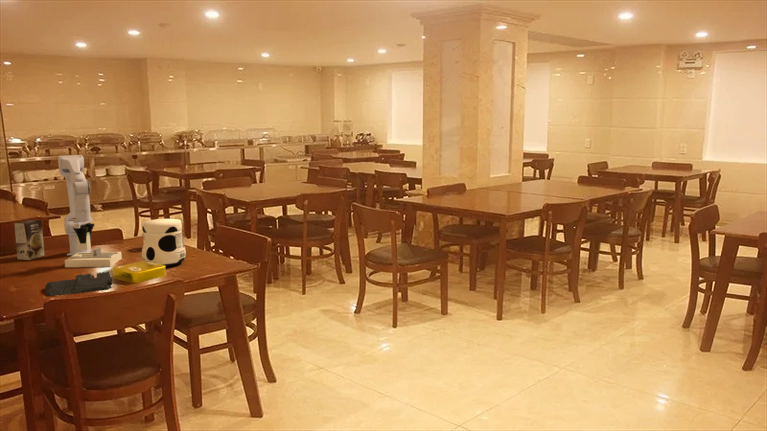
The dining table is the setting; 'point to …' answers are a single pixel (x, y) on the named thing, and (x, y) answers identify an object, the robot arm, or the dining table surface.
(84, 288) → the dark slate chunk
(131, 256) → the dining table surface
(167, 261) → the milk container
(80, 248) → the plug
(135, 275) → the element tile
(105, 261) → the socket
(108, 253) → the shutter
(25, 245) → the coffee box
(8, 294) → the dining table surface
